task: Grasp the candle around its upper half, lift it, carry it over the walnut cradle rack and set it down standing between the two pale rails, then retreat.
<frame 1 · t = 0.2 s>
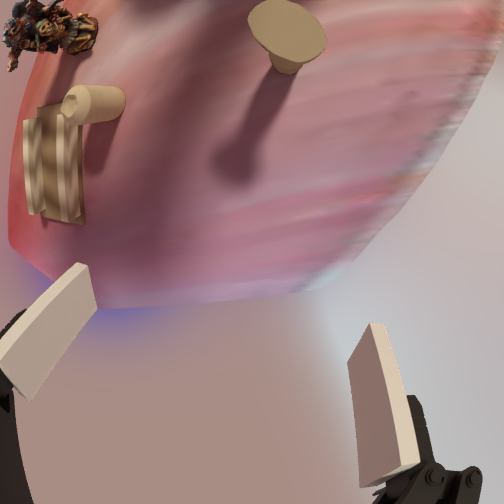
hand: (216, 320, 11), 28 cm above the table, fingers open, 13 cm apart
rack: (59, 162, 37), on the table
candle: (112, 103, 32), on the table
handle: (287, 64, 28), on the table
figurine: (86, 36, 26), on the table
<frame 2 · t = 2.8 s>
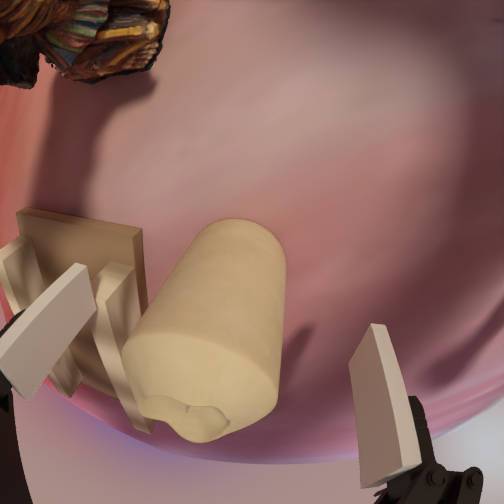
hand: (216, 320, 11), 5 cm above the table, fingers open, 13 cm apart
rack: (96, 329, 21), on the table
candle: (238, 260, 16), on the table
figurine: (129, 30, 10), on the table
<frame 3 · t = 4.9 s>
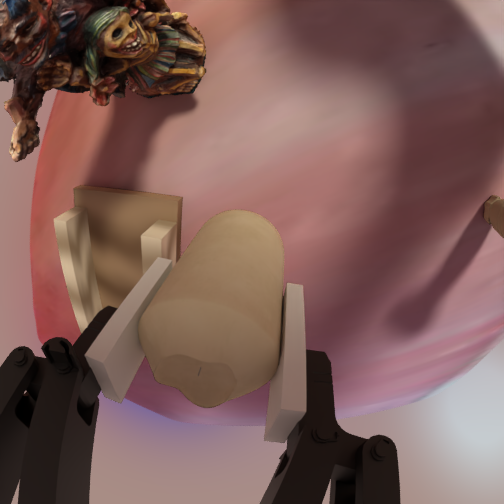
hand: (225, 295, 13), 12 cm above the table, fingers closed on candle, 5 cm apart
rack: (131, 284, 29), on the table
candle: (240, 248, 17), point 7 cm above the table, touching gripper
handle: (490, 208, 20), on the table
figurine: (176, 63, 18), on the table
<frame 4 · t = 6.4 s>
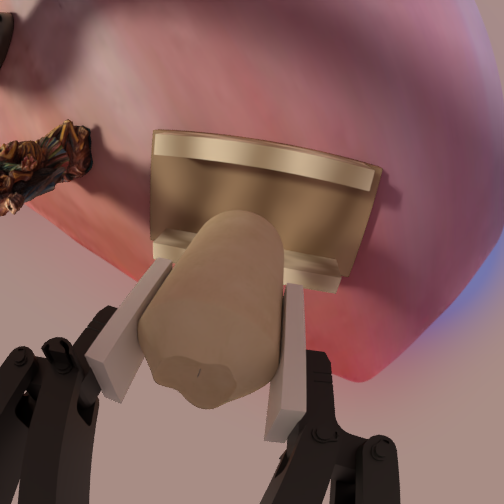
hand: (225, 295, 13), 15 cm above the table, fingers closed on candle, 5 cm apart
rack: (257, 200, 27), on the table
candle: (240, 249, 17), point 11 cm above the table, touching gripper
figurine: (75, 145, 26), on the table
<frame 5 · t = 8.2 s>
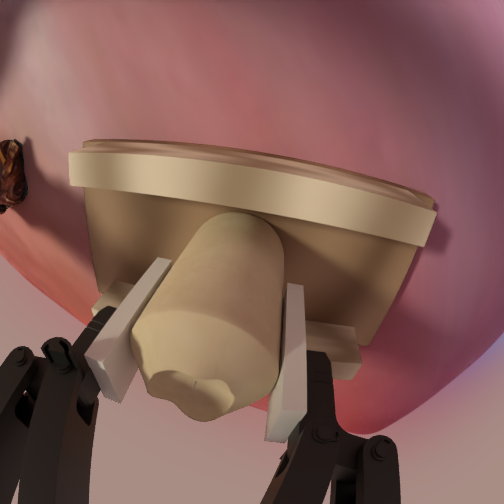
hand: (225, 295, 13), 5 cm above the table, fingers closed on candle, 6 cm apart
rack: (239, 244, 17), on the table
candle: (238, 252, 17), point 1 cm above the table, touching gripper, rack
figurine: (10, 165, 16), on the table
when the fingers open (5 cm above the table, at t = 9.0 s): candle stays where it is, resting on rack.
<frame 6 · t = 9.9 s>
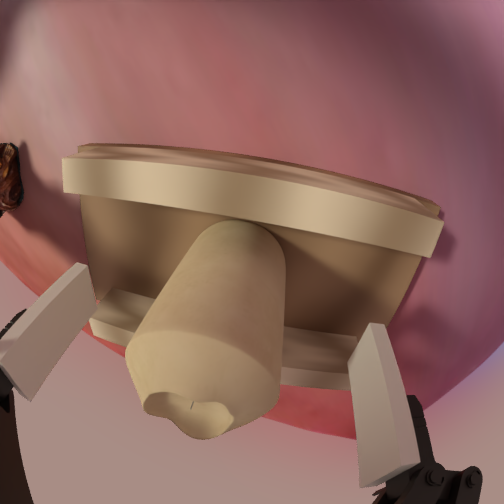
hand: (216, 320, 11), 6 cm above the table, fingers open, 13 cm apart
rack: (239, 253, 17), on the table
candle: (238, 260, 16), point 1 cm above the table, touching rack
figurine: (6, 168, 16), on the table
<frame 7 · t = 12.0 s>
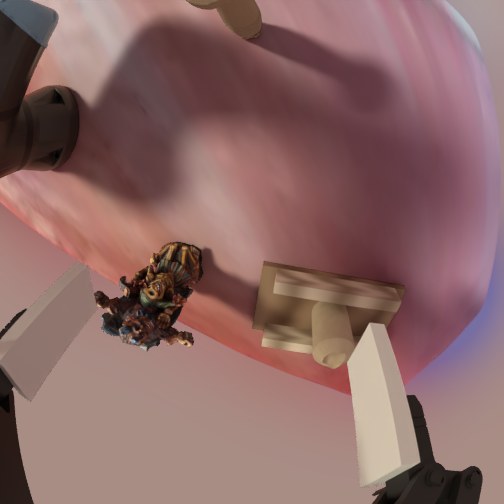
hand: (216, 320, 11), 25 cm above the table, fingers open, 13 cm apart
rack: (327, 307, 41), on the table
candle: (329, 310, 40), point 1 cm above the table, touching rack
handle: (249, 30, 25), on the table
figurine: (183, 257, 41), on the table
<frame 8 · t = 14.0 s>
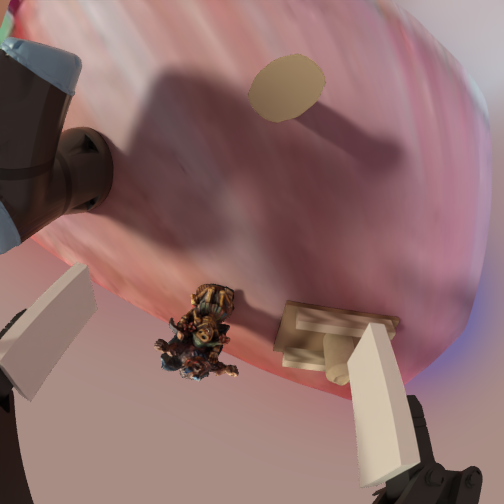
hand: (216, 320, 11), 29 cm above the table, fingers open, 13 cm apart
rack: (336, 333, 48), on the table
candle: (337, 337, 47), point 1 cm above the table, touching rack
handle: (286, 100, 32), on the table
figurine: (217, 295, 48), on the table
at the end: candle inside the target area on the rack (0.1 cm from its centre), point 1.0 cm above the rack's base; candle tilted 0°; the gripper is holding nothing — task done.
